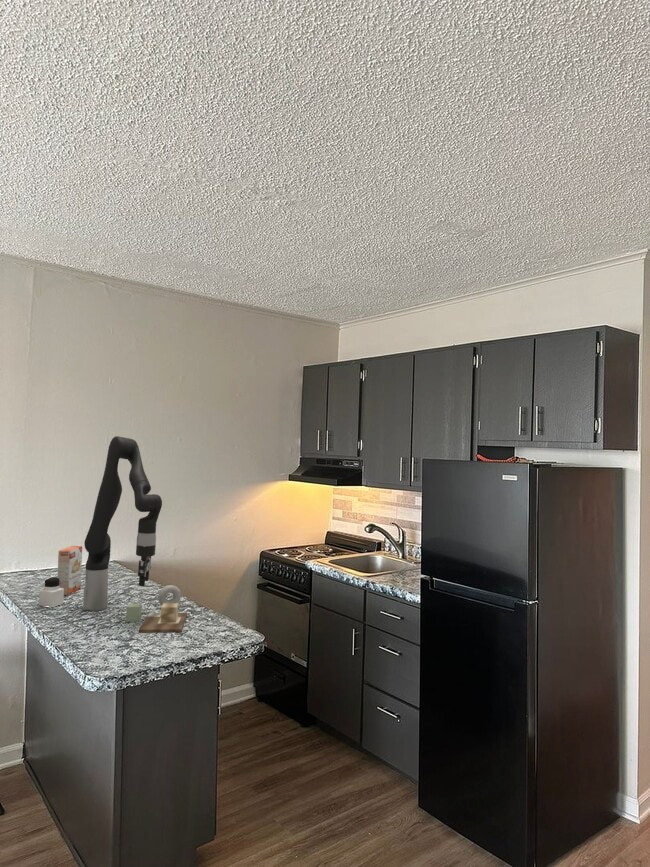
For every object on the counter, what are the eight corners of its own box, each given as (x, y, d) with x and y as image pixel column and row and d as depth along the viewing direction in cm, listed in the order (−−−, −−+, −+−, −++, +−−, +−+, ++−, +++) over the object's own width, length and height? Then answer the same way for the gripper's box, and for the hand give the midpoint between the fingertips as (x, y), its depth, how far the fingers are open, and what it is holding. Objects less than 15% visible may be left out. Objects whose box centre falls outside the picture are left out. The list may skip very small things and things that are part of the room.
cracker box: (69, 596, 284) (70, 550, 284) (56, 595, 284) (57, 550, 284) (81, 588, 298) (82, 545, 298) (69, 588, 298) (70, 545, 298)
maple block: (160, 622, 243) (161, 607, 243) (162, 618, 249) (163, 603, 249) (176, 622, 244) (176, 607, 244) (177, 617, 250) (178, 603, 250)
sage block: (126, 621, 248) (126, 606, 248) (128, 618, 253) (129, 603, 253) (138, 621, 249) (139, 606, 249) (141, 618, 254) (141, 603, 254)
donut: (158, 610, 265) (159, 587, 265) (156, 608, 268) (157, 585, 268) (181, 607, 270) (182, 584, 270) (179, 605, 273) (180, 583, 273)
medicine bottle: (63, 604, 270) (64, 577, 270) (51, 608, 263) (52, 580, 264) (50, 602, 273) (51, 575, 273) (38, 606, 266) (39, 578, 266)
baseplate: (138, 632, 234) (138, 629, 235) (148, 615, 256) (148, 612, 256) (181, 632, 236) (181, 628, 236) (187, 615, 258) (187, 612, 258)
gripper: (140, 540, 256) (137, 578, 256) (133, 546, 242) (130, 587, 242) (158, 540, 257) (156, 579, 257) (152, 547, 243) (150, 588, 243)
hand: (143, 583), depth 249 cm, fingers open, 8 cm apart
